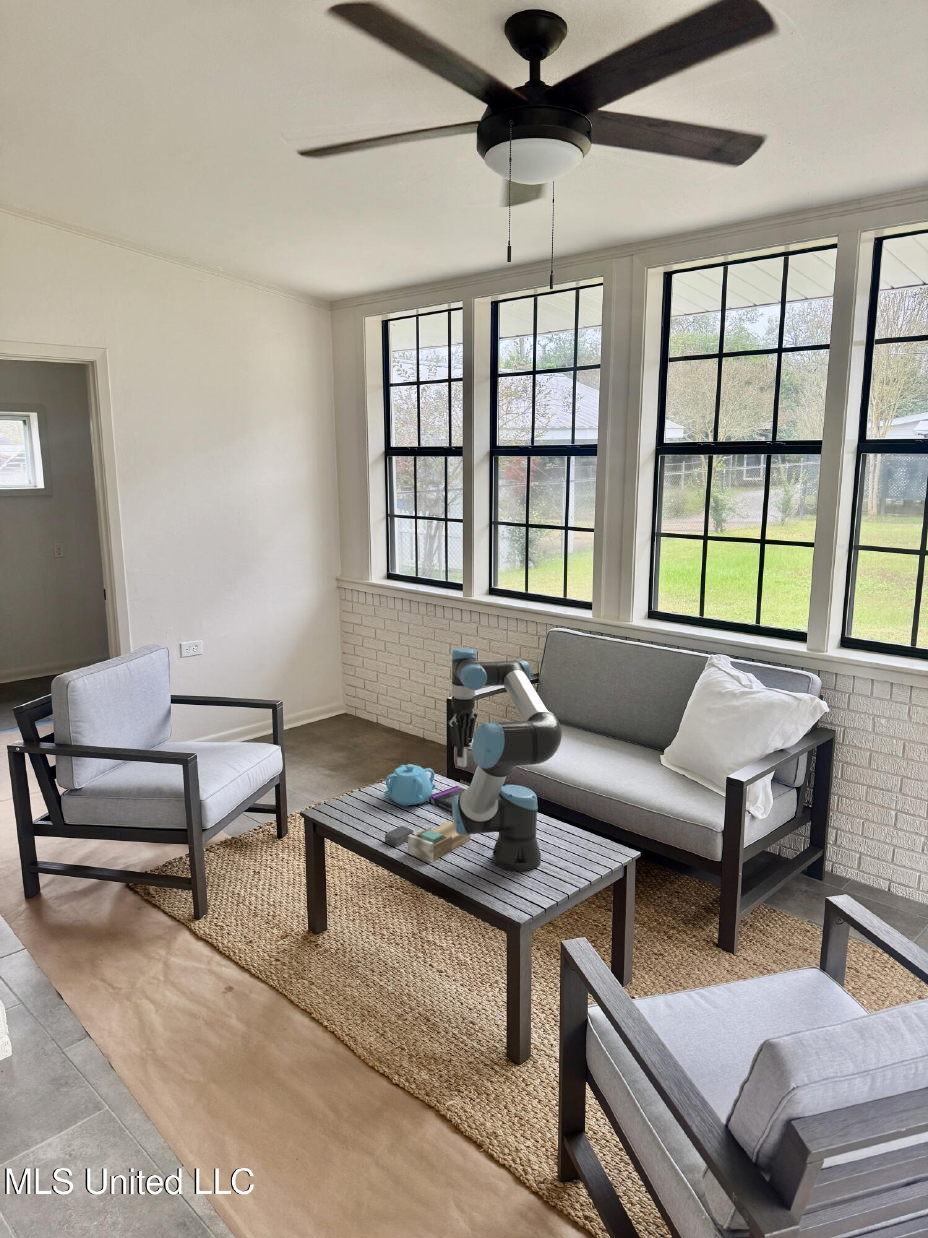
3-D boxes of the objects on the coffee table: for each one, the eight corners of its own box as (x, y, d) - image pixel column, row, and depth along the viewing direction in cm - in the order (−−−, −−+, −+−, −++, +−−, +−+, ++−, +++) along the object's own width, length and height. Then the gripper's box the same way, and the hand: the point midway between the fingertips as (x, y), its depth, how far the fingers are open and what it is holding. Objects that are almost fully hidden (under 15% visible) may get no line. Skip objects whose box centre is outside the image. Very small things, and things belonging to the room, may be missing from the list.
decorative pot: (401, 789, 307) (401, 754, 305) (439, 796, 301) (439, 761, 298) (379, 804, 293) (379, 768, 290) (418, 812, 286) (419, 776, 284)
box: (428, 804, 296) (464, 821, 281) (428, 795, 295) (463, 811, 281) (457, 794, 305) (493, 809, 291) (457, 785, 304) (493, 800, 290)
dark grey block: (412, 838, 266) (413, 830, 265) (396, 847, 260) (396, 838, 259) (401, 834, 269) (401, 825, 268) (385, 842, 263) (385, 833, 262)
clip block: (442, 834, 257) (433, 839, 254) (442, 850, 258) (433, 855, 255) (429, 829, 260) (420, 834, 257) (429, 845, 261) (420, 850, 258)
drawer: (471, 840, 266) (471, 823, 264) (430, 862, 250) (431, 844, 249) (448, 831, 271) (448, 815, 270) (407, 853, 256) (408, 835, 255)
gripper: (466, 690, 267) (465, 758, 272) (441, 698, 257) (440, 768, 262) (484, 694, 263) (483, 763, 267) (459, 702, 253) (458, 774, 257)
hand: (461, 765), depth 264 cm, fingers closed
